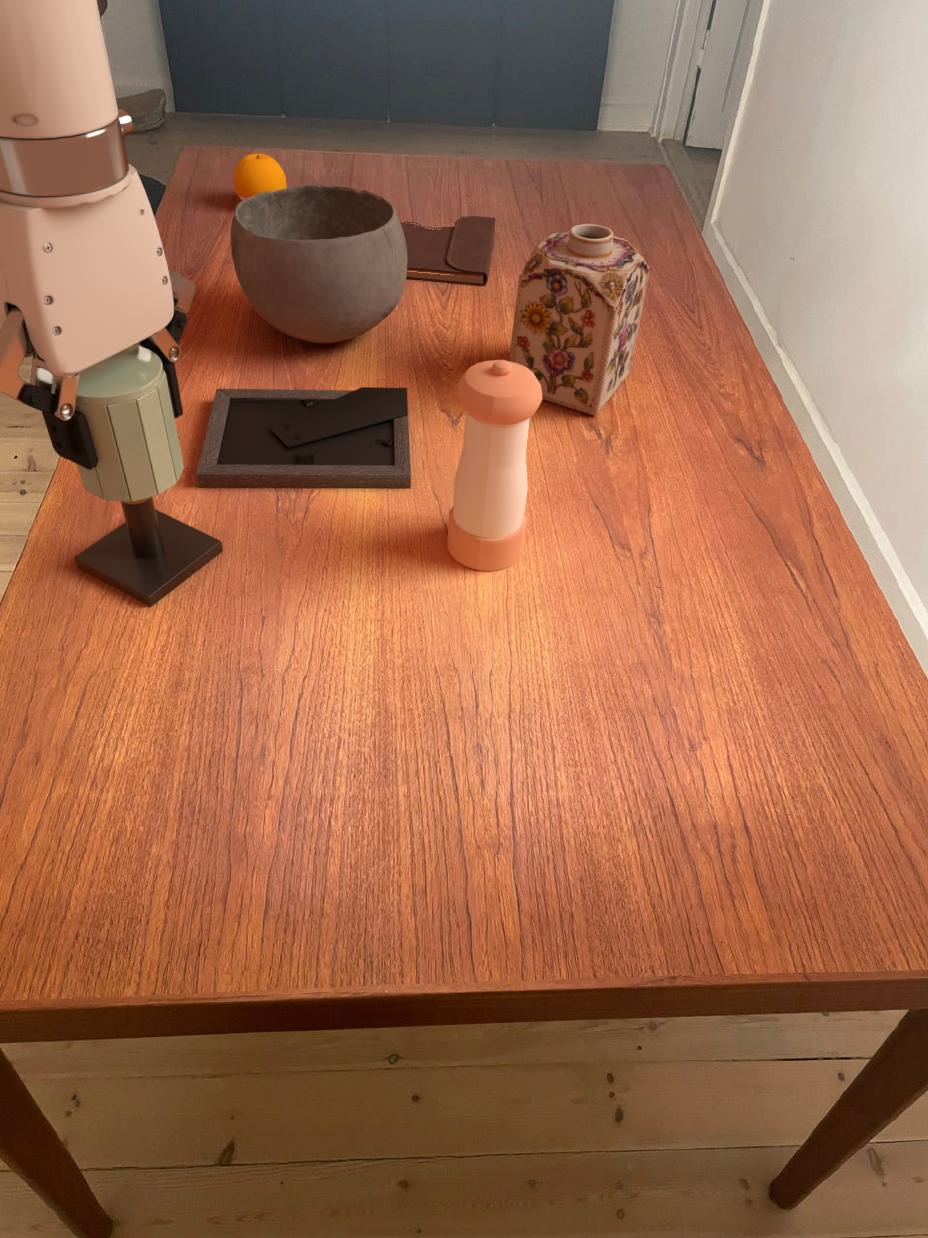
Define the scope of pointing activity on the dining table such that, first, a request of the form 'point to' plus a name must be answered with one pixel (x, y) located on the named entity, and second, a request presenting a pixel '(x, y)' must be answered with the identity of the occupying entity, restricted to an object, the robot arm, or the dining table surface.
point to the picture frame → (307, 439)
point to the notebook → (451, 251)
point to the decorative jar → (579, 315)
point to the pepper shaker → (492, 465)
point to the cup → (129, 426)
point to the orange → (258, 175)
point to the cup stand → (148, 553)
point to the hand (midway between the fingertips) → (122, 433)
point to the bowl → (319, 260)
